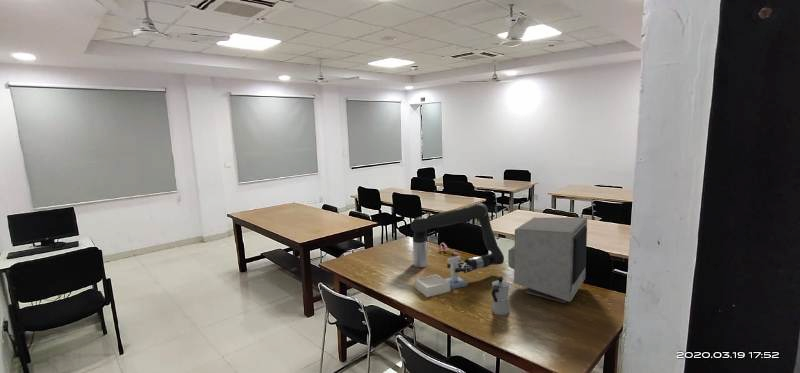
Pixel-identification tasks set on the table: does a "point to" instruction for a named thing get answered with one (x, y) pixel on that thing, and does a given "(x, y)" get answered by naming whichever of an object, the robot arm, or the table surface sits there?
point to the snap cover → (455, 274)
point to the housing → (432, 285)
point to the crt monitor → (550, 257)
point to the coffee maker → (500, 297)
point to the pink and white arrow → (448, 249)
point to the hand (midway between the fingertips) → (451, 268)
